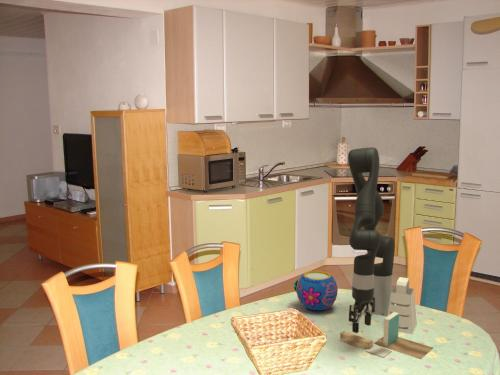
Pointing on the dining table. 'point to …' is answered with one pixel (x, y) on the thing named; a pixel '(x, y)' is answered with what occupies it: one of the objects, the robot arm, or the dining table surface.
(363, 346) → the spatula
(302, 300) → the ceramic pot
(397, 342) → the board
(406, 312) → the grater
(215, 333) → the dining table surface
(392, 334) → the tile
